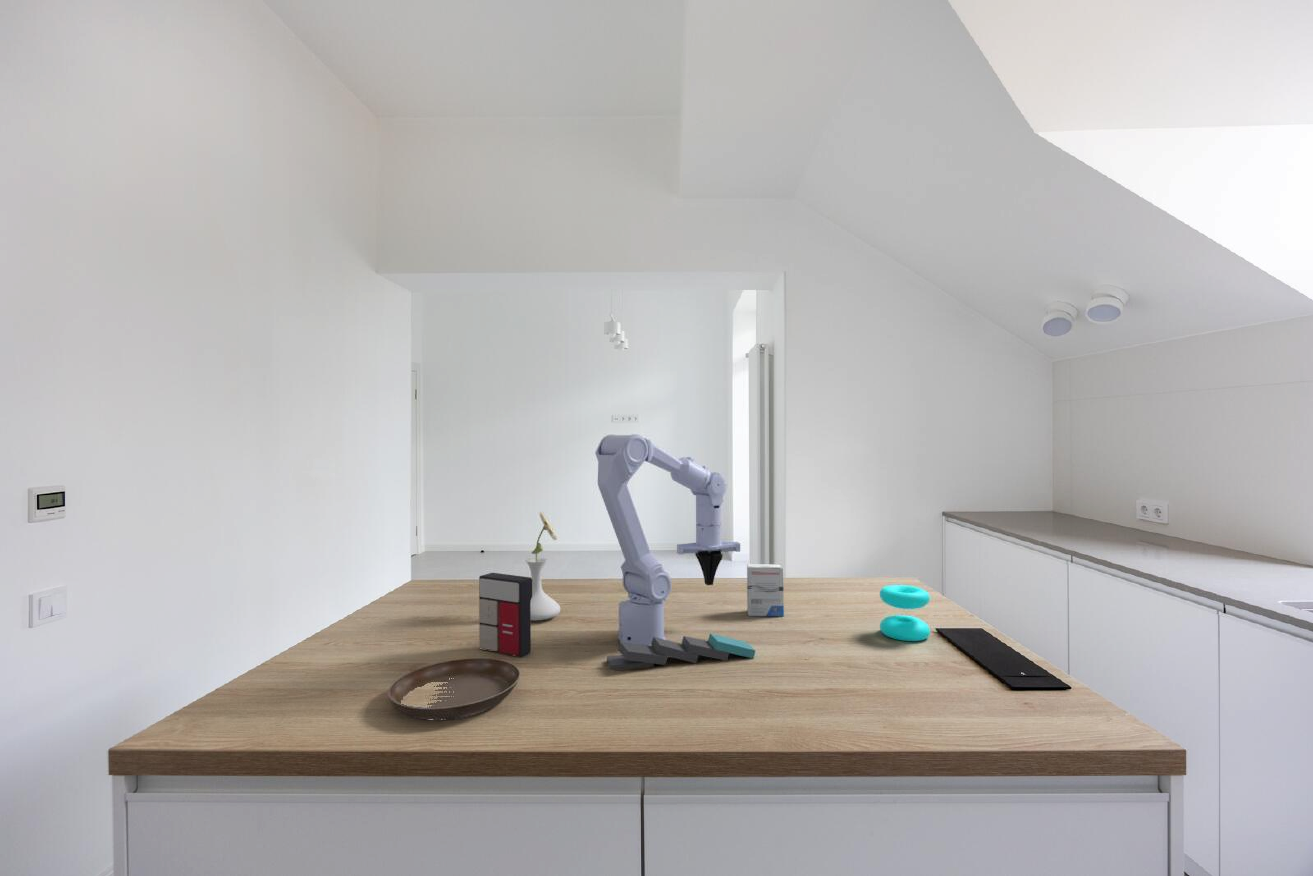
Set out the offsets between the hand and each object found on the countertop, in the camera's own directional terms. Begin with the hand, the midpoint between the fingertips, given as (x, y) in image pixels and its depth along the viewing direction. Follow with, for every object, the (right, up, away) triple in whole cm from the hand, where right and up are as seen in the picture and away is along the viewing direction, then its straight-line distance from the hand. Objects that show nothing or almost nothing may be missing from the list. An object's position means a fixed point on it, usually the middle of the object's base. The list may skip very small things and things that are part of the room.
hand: (708, 584), depth 139 cm
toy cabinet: (-43, -10, -16) cm, 47 cm away
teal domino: (+6, -9, -18) cm, 21 cm away
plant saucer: (-45, -10, -38) cm, 60 cm away
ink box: (+14, -10, +9) cm, 20 cm away
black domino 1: (-13, -9, -22) cm, 28 cm away
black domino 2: (-11, -8, -22) cm, 26 cm away
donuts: (+41, -9, -8) cm, 43 cm away
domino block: (-5, -9, -21) cm, 23 cm away
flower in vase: (-40, -10, +8) cm, 42 cm away
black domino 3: (+1, -9, -19) cm, 21 cm away
